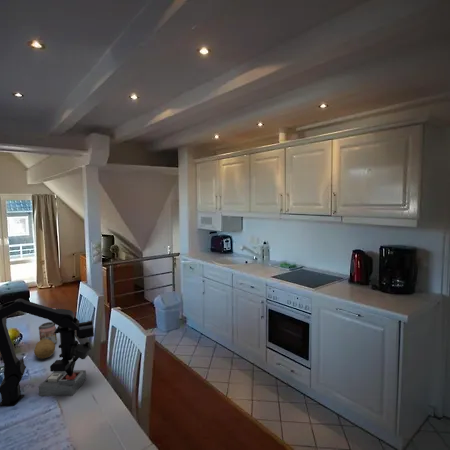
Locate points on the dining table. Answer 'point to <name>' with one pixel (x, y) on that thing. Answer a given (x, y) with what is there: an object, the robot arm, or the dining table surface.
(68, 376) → the button
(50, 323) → the beverage can
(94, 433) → the dining table surface
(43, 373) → the dining table surface
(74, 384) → the grey flat box
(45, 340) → the potato
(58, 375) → the on key
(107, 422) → the dining table surface
